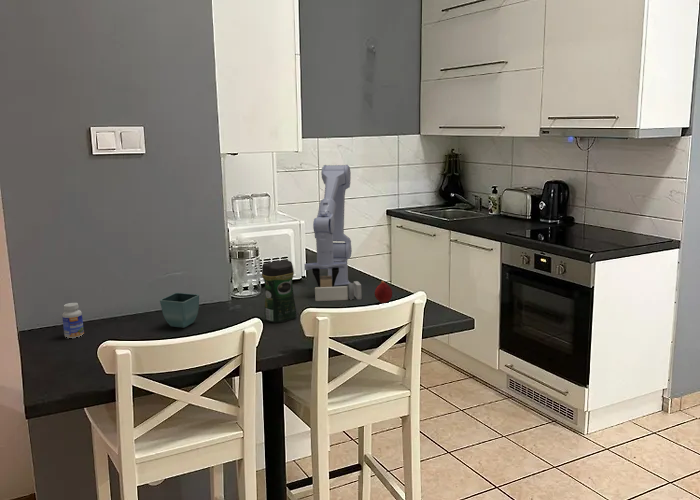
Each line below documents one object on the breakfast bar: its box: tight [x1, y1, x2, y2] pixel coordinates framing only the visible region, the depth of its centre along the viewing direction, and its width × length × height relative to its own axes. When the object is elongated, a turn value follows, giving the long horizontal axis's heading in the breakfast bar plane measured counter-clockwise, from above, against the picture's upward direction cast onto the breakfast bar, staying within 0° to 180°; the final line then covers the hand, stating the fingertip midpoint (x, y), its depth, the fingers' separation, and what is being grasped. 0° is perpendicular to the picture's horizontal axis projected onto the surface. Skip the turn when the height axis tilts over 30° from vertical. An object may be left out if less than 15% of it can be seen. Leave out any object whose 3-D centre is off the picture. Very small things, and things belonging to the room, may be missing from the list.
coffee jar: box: [261, 259, 297, 323], centre depth 204 cm, size 10×8×19 cm
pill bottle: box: [61, 302, 85, 339], centre depth 194 cm, size 5×5×10 cm
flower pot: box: [159, 292, 200, 329], centre depth 201 cm, size 9×9×9 cm
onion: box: [374, 280, 393, 304], centre depth 217 cm, size 6×6×8 cm
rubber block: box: [320, 275, 332, 287], centre depth 229 cm, size 6×4×6 cm, turn 2°
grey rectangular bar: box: [314, 285, 349, 302], centre depth 225 cm, size 11×2×4 cm, turn 92°
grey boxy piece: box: [347, 280, 362, 301], centre depth 226 cm, size 5×4×6 cm
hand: (326, 289), depth 230 cm, fingers closed on rubber block, 4 cm apart
